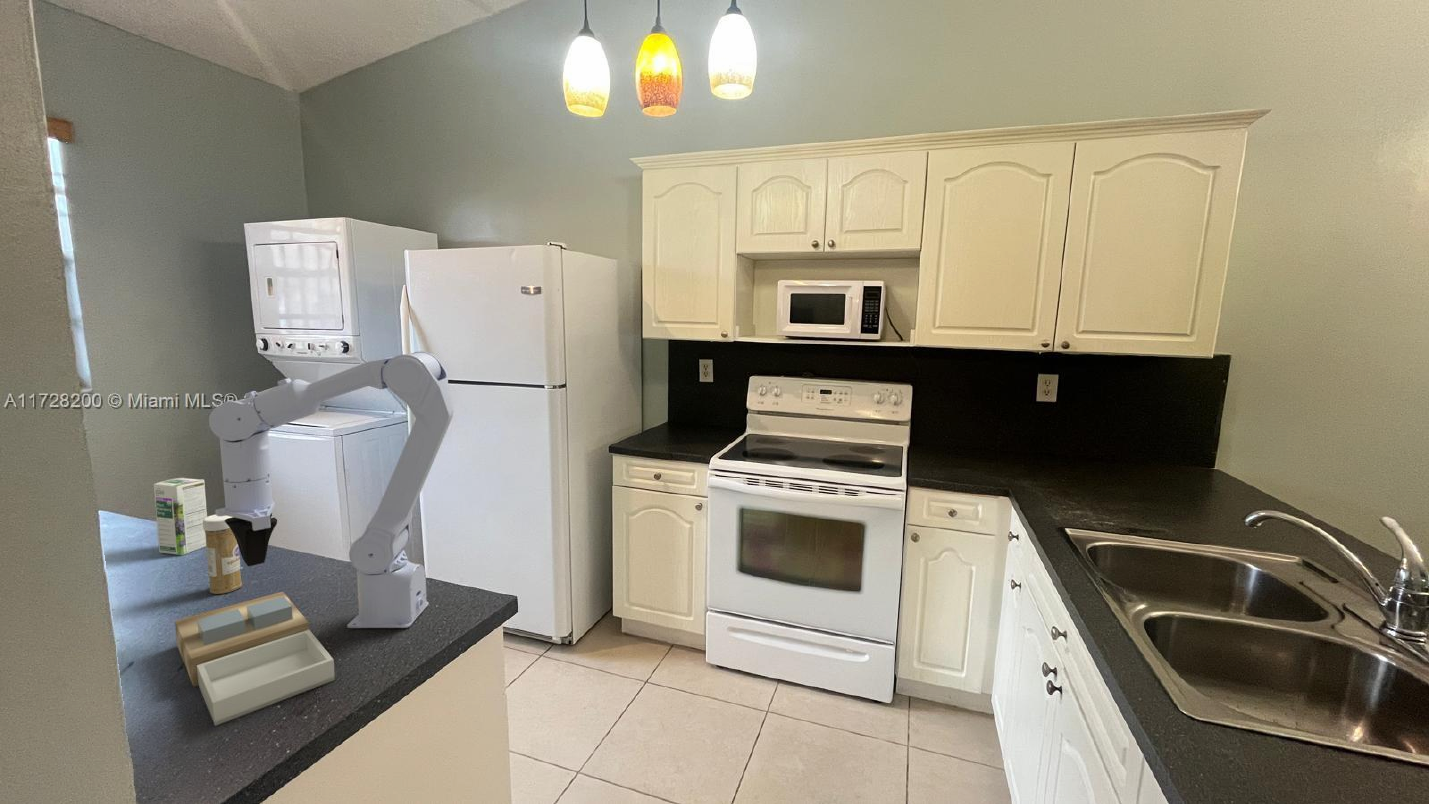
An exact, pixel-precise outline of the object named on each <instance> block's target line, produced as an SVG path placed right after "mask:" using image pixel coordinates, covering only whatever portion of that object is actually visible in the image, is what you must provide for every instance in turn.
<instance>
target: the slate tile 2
mask: <svg viewBox="0 0 1429 804" xmlns="http://www.w3.org/2000/svg"><path fill="white" fill-rule="evenodd" d="M247 616H248V620H249V622H250V623H251V625H252V626H253V628H254V629H255V630H257V629H261V628H264V627H267V626H271V625H274V624H277V623H281V622H284V621H287V620H291V619H293V615H292V606H291V605H290V603H289V602H288V601H287V600H286V598H285V597H284V596H283V597H279V598H275V599H272V600H268V601H264V602H261V603H257V604H253V605H250V606H247Z"/></svg>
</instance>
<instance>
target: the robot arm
mask: <svg viewBox="0 0 1429 804" xmlns="http://www.w3.org/2000/svg"><path fill="white" fill-rule="evenodd" d="M367 387H371V388H374V389H377V390H385V389H387V388H388V389H389V391H391V393H393V394H394V395H396V396H397V398H399V399H400V400H402V401H403V402H404V403H405V404H406V405H407V407H408V408H409V410H410V411H411V413H412V414H413V417H414V418H415V421H414V423H413V425H412V427H411V430H410V432H409V435H408V437H407V440H406V442H405V445H404V446H403V449H402V451H401V454H400V456H399V458H398V461H397V463H396V465H395V467H394V470H393V472H392V475H391V476H390V477H391V478H390V479H389V481H388V484H387V486H386V489H385V490H384V491H385V492H384V493H383V496H382V498H381V500H380V503H379V506H378V508H377V510H376V511H375V513H374V514H373V516H372V518H371V519H370V521H369V522H368V524H367V525H366V528H365V530H364V532H363V533H362V535H361V536H359V538H357V539H356V540H355V541H354V542H353V543H352V544H351V546H350V549H349V552H348V554H349V555H348V557H349V560H350V563H351V565H352V566H353V567H354V568H355V569H356V580H357V583H356V585H357V598H358V599H357V601H358V614H357V615H356V616H355V617H354V618H353V619H352V620H351V621H350V622H349V623H347V629H396V628H397V629H404V628H405V629H406V628H409V627H411V625H412V624H414V622H415V621H416V619H418V617H419V616H420V615H421V613H423V612H424V610H425V609H426V608H427V607H428V606H429V602H428V601H427V600H428V599H427V576H426V569H425V567H424V566H423V565H422V564H419V563H413V562H412V561H411V562H410V561H409V560H408V556H407V554H406V551H405V547H406V546H407V545H408V544H409V542H410V539H411V522H412V520H413V518H414V517H413V511H414V509H415V507H416V504H417V501H418V499H419V497H420V494H421V492H422V490H423V487H424V485H425V482H426V480H427V477H428V476H429V473H430V471H431V468H432V466H433V464H434V462H435V459H436V457H437V454H438V452H439V449H440V448H441V446H442V443H443V440H444V438H445V436H446V433H447V431H448V428H449V426H450V424H451V422H452V419H453V416H454V408H453V401H452V398H451V393H450V389H449V388H450V387H449V373H448V371H447V370H446V369H445V367H444V366H443V364H442V362H441V361H440V360H439V358H438V357H436V356H435V355H434V354H433V353H430V352H427V351H422V350H421V351H414V352H412V353H410V354H397V355H395V356H392V357H385V358H382V359H381V358H380V359H376V360H369V361H366V362H364V363H360V364H359V365H356V366H353V367H351V368H348V369H346V370H342V371H340V372H337V373H335V374H333V375H330V376H327V377H325V378H322V379H319V380H317V381H314V382H309V381H306V380H303V379H300V378H297V379H292V380H291V378H289V377H288V378H283V379H281V380H278V381H277V385H276V386H273V387H271V388H268V389H265V390H262V391H259V392H257V391H256V390H253V391H249V392H247V393H245V394H244V395H245V398H243V399H237V400H228V401H224V402H223V403H222V404H220V405H217V406H216V407H215V408H214V409H213V410H212V411H211V412H210V414H209V417H208V424H209V428H210V430H211V431H212V433H213V434H214V435H215V436H216V437H218V438H219V446H220V458H221V469H222V471H221V472H222V480H223V482H222V483H223V490H224V491H223V492H224V502H225V503H224V504H225V507H223V508H222V507H221V508H217V509H215V511H214V512H215V515H217V516H230V517H232V518H228V519H226V520H225V523H226V524H227V525H228V526H229V527H230V529H231V530H232V532H233V534H234V536H235V538H236V541H237V544H238V547H239V554H240V555H241V558H242V560H243V563H244V564H246V566H247V567H253V566H257V565H261V564H265V562H266V559H267V558H266V557H267V554H268V548H269V543H270V542H269V541H270V539H271V536H272V533H273V531H274V529H275V528H276V526H277V523H278V519H277V518H276V517H272V516H273V515H272V514H273V511H274V509H275V507H276V503H275V501H274V498H273V495H274V494H273V483H272V469H271V459H270V458H271V457H270V455H271V454H270V445H269V431H270V430H271V429H275V428H278V427H282V426H283V425H286V424H289V423H292V422H295V421H298V420H300V419H303V418H306V417H309V416H311V415H314V414H316V413H317V412H318V411H319V408H320V406H321V404H322V403H323V402H324V401H327V400H330V399H333V398H337V397H340V396H342V395H345V394H348V393H351V392H354V391H357V390H361V389H363V388H367Z"/></svg>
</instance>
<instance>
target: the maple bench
mask: <svg viewBox="0 0 1429 804" xmlns="http://www.w3.org/2000/svg"><path fill="white" fill-rule="evenodd" d="M283 596H284V597H285V598H286V600H287V601H288V602H289V603H290V605H291V606H292V615H293V619H291V620H287V621H284V622H281V623H277V624H274V625H271V626H267V627H264V628H261V629H257V630H255V629H254V628H253V626H252V625H251V623H250V622H249V620H248V616H247V606H250V605H253V604H257V603H261V602H264V601H268V600H272V599H275V598H279V597H283ZM235 609H238V610H239V611H240V613H241V614H242V616H243V617H244V619H245V626H246V633H244V634H241V635H237V636H234V637H231V638H227V639H224V640H221V641H217V642H214V643H211V644H207V645H204V644H203V642H202V640H201V638H200V635H199V633H198V623H197V620H199V619H202V618H206V617H209V616H213V615H217V614H220V613H224V612H228V611H231V610H235ZM174 624H175V635H176V636H175V637H176V643H177V644H176V645H177V648H178V651H179V653H180V656H181V659H182V661H183V664H184V666H185V668H186V671H187V674H188V676H189V679H190V681H191V684H192V686H193V688H194V687H199V684H198V673H197V665H199V664H202V663H206V662H209V661H212V660H215V659H218V658H221V657H224V656H228V655H231V654H234V653H237V652H240V651H243V650H247V649H250V648H253V647H256V646H259V645H262V644H265V643H269V642H272V641H275V640H278V639H281V638H284V637H287V636H291V635H294V634H297V633H300V632H303V631H306V630H310V626H309V625H310V624H309V621H308V619H306V617H305V616H304V615H303V614H302V613H301V612H300V611H299V609H298V608H297V607H296V605H294V603H293V602H292V600H291V599H290V598H289V597H288V596H287V595H286V593H285V592H284V591H280V592H276V593H273V594H269V595H265V596H261V597H258V598H254V599H250V600H247V601H242V602H239V603H235V604H231V605H228V606H224V607H221V608H217V609H213V610H210V611H205V612H202V613H198V614H195V615H194V614H193V615H191V616H186V617H183V618H179V619H175V620H174Z"/></svg>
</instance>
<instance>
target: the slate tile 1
mask: <svg viewBox="0 0 1429 804" xmlns="http://www.w3.org/2000/svg"><path fill="white" fill-rule="evenodd" d="M197 623H198V633H199V635H200V638H201V640H202V642H203V644H204V645H207V644H211V643H214V642H217V641H221V640H224V639H227V638H231V637H234V636H237V635H241V634H244V633H246V626H245V619H244V617H243V616H242V614H241V613H240V611H239V610H238V609H235V610H231V611H228V612H224V613H220V614H217V615H213V616H209V617H206V618H202V619H199V620H197Z"/></svg>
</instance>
